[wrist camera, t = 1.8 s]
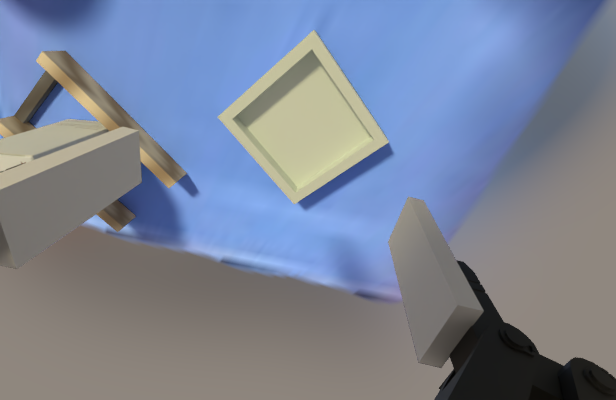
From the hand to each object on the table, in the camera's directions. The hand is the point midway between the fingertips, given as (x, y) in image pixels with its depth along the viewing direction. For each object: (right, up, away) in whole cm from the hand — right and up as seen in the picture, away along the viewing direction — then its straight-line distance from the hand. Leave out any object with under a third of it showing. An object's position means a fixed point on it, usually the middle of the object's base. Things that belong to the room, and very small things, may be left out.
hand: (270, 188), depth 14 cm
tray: (+1, +9, +21) cm, 23 cm away
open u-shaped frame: (-26, +7, +25) cm, 37 cm away
